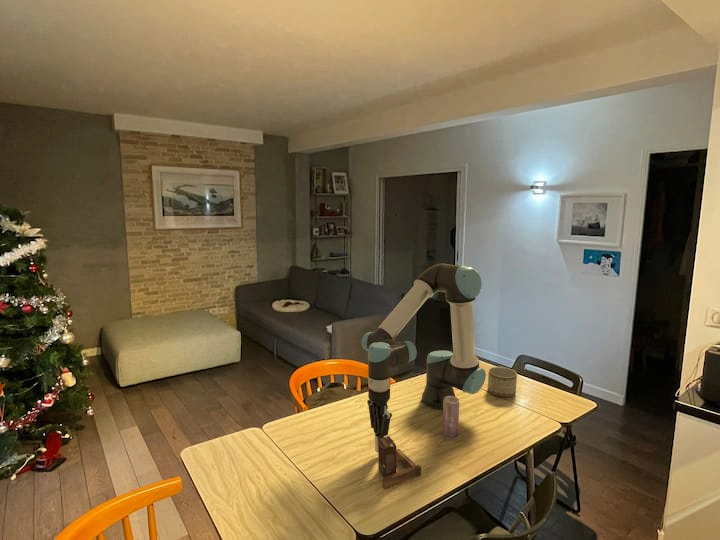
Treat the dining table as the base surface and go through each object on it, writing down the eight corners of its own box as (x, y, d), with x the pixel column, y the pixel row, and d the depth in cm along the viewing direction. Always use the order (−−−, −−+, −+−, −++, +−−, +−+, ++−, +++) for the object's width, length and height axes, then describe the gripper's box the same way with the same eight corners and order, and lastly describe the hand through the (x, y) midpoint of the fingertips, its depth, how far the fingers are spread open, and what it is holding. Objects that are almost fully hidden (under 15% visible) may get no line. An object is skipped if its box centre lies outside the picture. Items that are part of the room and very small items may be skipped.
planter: (519, 399, 186) (521, 377, 185) (492, 398, 186) (493, 377, 185) (510, 387, 199) (511, 366, 197) (484, 386, 199) (485, 366, 197)
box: (377, 471, 135) (377, 437, 134) (389, 468, 137) (390, 435, 135) (384, 482, 130) (384, 447, 128) (397, 479, 131) (397, 445, 129)
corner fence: (366, 467, 137) (366, 459, 137) (400, 455, 144) (400, 448, 143) (384, 489, 127) (384, 480, 126) (421, 475, 133) (421, 467, 133)
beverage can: (459, 433, 158) (460, 397, 155) (456, 441, 152) (457, 404, 150) (444, 430, 160) (445, 394, 158) (440, 437, 155) (441, 401, 153)
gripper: (360, 382, 143) (361, 444, 147) (379, 398, 132) (379, 463, 136) (378, 378, 147) (378, 438, 151) (398, 392, 136) (398, 457, 139)
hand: (379, 450), depth 143 cm, fingers closed
